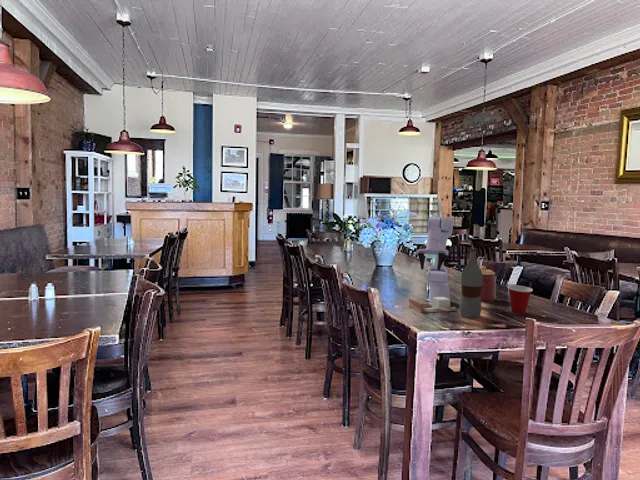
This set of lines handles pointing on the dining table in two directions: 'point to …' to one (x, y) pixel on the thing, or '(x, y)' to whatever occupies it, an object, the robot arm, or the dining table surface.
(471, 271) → the bottle
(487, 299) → the canister
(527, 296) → the plastic cup
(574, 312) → the dining table surface
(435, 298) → the keeper block
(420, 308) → the keeper channel
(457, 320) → the dining table surface
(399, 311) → the dining table surface
